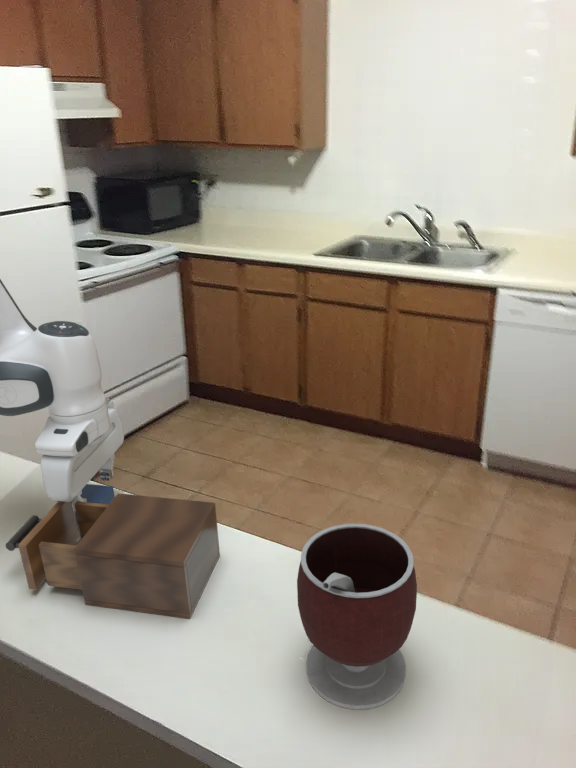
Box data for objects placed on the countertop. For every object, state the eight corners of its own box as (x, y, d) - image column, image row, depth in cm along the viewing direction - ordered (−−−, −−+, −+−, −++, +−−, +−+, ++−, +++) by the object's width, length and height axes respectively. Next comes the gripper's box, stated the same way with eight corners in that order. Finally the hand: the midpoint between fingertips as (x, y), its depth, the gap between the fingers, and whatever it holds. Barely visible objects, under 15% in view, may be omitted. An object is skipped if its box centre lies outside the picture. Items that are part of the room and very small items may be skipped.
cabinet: (84, 604, 95) (73, 548, 91) (126, 544, 107) (117, 493, 103) (190, 618, 92) (183, 561, 88) (220, 555, 104) (215, 502, 100)
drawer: (1, 585, 98) (-11, 541, 95) (46, 533, 109) (37, 492, 106) (122, 601, 94) (114, 556, 91) (156, 545, 105) (150, 503, 102)
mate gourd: (327, 614, 92) (326, 490, 84) (426, 647, 86) (435, 518, 78) (274, 699, 79) (266, 564, 71) (385, 745, 73) (390, 604, 65)
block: (76, 524, 113) (72, 499, 111) (90, 507, 117) (86, 483, 115) (104, 527, 112) (99, 502, 110) (117, 510, 116) (113, 486, 114)
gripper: (93, 392, 117) (105, 460, 122) (28, 450, 98) (46, 527, 104) (126, 393, 115) (137, 463, 121) (66, 453, 97) (83, 531, 103)
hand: (94, 493), depth 112 cm, fingers open, 8 cm apart
